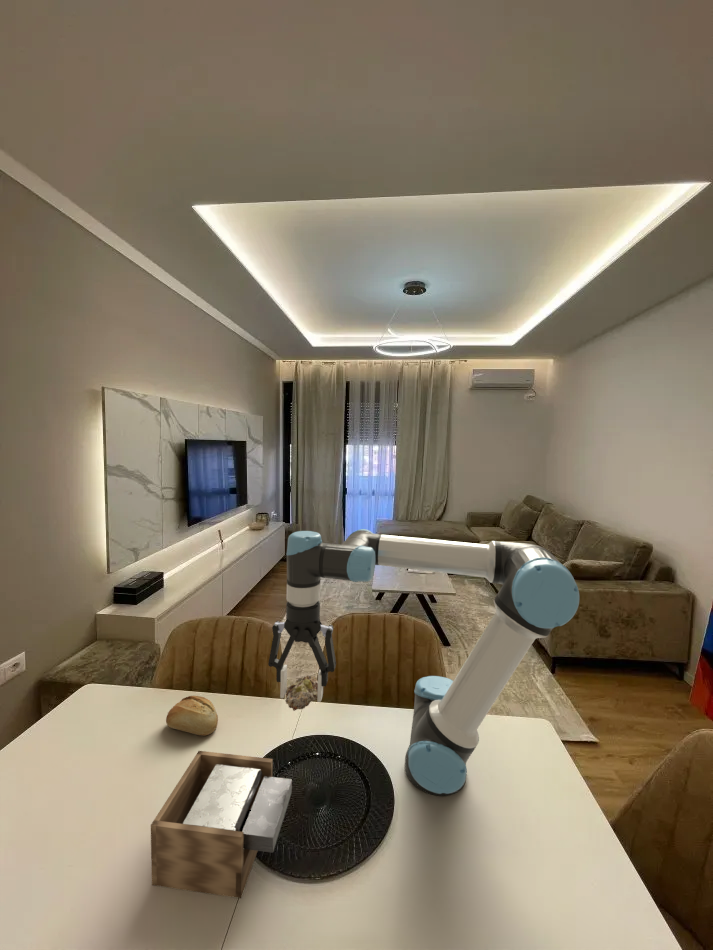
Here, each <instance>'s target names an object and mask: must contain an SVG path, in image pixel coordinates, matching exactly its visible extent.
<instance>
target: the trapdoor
mask: <svg viewBox="0 0 713 950" xmlns="http://www.w3.org/2000/svg"><path fill="white" fill-rule="evenodd" d="M262 774H263V773H262V771H261V769H253V768H244V767H236V766H227V765H218V764H216V766H215V767H214V769H213V771H212V773H211V774H210V776H209V778H208V780H207V781H206V783H205V785H204V787H203V789H202V790H201V792H200V794H199V796H198V797H197V799H196V801H195V803H194V804H193V806H192V808H191V810H190V812H189V813H188V815H187V817H186V819H185V820H184V822H183V824H187V825H194V826H202V827H210V828H217V829H225V830H232V831H240V830H241V827H242V826H243V828H242V831H241V832H243V850H245V849H249V850H256V851H257V852H266V853H274V851H275V848H276V843H277V841H278V838H279V835H280V832H281V828H282V825H283V821H284V819H285V816H286V811H287V809H288V807H289V802H290V798H291V796H292V789H293V784H292V783H293V780H292V779H291V778H284V777H278V776H277V777H275V776H272V777H268V776H264V778H263V781H262V783H261V786H260V788H259V791H258V793H257V796H256V798H255V801H254V803H253V806H252V808H251V811H249V810H248V809H249V806H250V804H251V801H252V799H253V796H254V794H255V792H256V789H257V787H258V784H259V782H260V779H261V777H262ZM248 811H249V813H248ZM247 813H248V816H247V819H246V821H245V823H244V820H245V818H246V815H247ZM243 823H244V825H243Z"/></svg>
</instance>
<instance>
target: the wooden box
mask: <svg viewBox="0 0 713 950" xmlns="http://www.w3.org/2000/svg"><path fill="white" fill-rule="evenodd" d="M273 760H274V759H273V758H267V757H258V756H257V757H256V756H251V755H250V756H249V755H241V754H231V753H222V752H214V751H206V750H198V751H197V753H196V754H195V756H194V757H193V759H192V760H191V762H190V763H189V765H188V767H187V768H186V770H185V771H184V773H183V775H181V777H180V779H179V780H178V782H177V784H176V785H175V787H174V788H173V790H172V791H171V793H170V795H169V796H168V797H167V798H166V800H165V802H164V804H163V806H162V807H161V808H160V810H159V812H158V813H157V814H156V816H155V818H154V819H153V821H152V822H151V824H150V855H151V856H150V858H151V862H150V863H151V867H150V868H151V886H157V887H161V888H162V887H163V888H170V889H176V890H182V891H189V892H196V893H197V892H198V893H203V894H207V895H208V894H209V895H216V896H222V897H230V898H236V899H242V897H243V894H244V892H245V889H246V886H247V883H248V880H249V877H250V874H251V871H252V868H253V866H254V863H255V860H256V857H257V853H258V851H256V850H249V849H243V832H242V831H240V830H239V831H232V830H225V829H217V828H210V827H202V826H194V825H187V824H183V822H184V820H185V819H186V817H187V815H188V813H189V812H190V810H191V808H192V806H193V804H194V803H195V801H196V799H197V797H198V796H199V794H200V792H201V790H202V789H203V787H204V785H205V783H206V781H207V780H208V778H209V776H210V774H211V773H212V771H213V769H214V767H215V766H216V764H218V765H227V766H236V767H244V768H253V769H261V771H262V773H263V774H262V777H261V779H260V782H259V784H258V787H257V789H256V792H255V794H254V796H253V799H252V801H251V804H250V806H249V809H248V811H249V810H251V808H252V806H253V803H254V801H255V798H256V796H257V793H258V791H259V788H260V786H261V783H262V781H263V778H264V776H268V777H273V770H274V768H273V766H274V765H273Z"/></svg>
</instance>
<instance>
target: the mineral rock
mask: <svg viewBox="0 0 713 950" xmlns="http://www.w3.org/2000/svg"><path fill="white" fill-rule="evenodd" d="M317 695H318V679H317V677H316V676H315V675H312V674H310V675H306V676H305V675H304V676H301V677H300V678H298V679H296V680H295V682H294V683H293V682H292V683H290V685H289V686H288V685H287V692H286V694H285V700H284V701H285V704H286V705H288V708H289V709H292V711H293V712H294V711H297V710H302V709H303V710H304V709H305V708H306V707H308V706H309V705H310V703H312V702H313V701H317Z"/></svg>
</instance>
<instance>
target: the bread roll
mask: <svg viewBox="0 0 713 950" xmlns="http://www.w3.org/2000/svg"><path fill="white" fill-rule="evenodd" d="M165 721H166V725H167V726H168V727H169V728H171V729H174V730H178V731H182V732H187V733H190V734H193V735H197V736H203V737H204V736H205V737H206V736H208V735H211V734H213V733H214V732H215V731H216V730H217V728H218V724H219V717H218V714H217V711H216V708H215V705H214V703H212V701H211V700H209V699H208V698H207V697H205V696H204V697H203V696H201V695H188V696H186V697H184V698H182V699H181V700H180V701H179V702H177V703H175V705H174V706H172V707H171V709H169V711H168V712H167V715H166V718H165Z"/></svg>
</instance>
